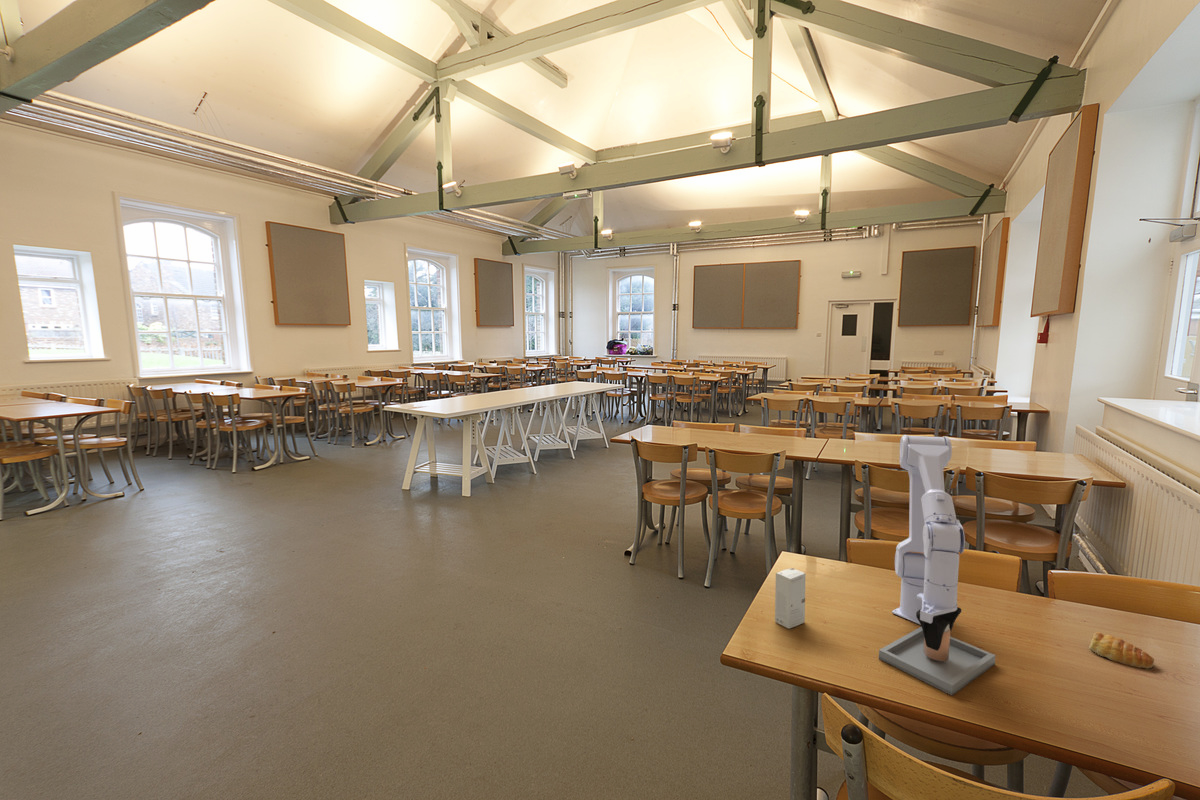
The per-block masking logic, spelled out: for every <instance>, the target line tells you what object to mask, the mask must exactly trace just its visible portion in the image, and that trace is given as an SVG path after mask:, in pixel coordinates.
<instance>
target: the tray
mask: <svg viewBox="0 0 1200 800" xmlns="http://www.w3.org/2000/svg"><path fill="white" fill-rule="evenodd" d="M878 660H880V661H882V662H884V663H886V664H888V665H890V666H892V667H894V668H895V669H898V670H900V671H902V672H904V673H906V674H908V675H909V676H912V677H914V678H916V679H918V680H920V681H921V682H924V683H926V684H927V685H930V686H932V687H934V688H936V689H937V690H940V691H942V692H944V693H945V694H947V693H948V695H949V694H950V696H951V695H952V696H953V695H955V694H956V693H958V692H959V691H961V690H962V689H963V688H964V687H966V686H967V685H968V684H970V683H971V682H973V681H974V680H975V679H977V678H978V677H980V676H981V675H982V674H984V673H985V672H986V671H988V670H989V669H991V668H992V667H994V665H996V654H994V653H993V652H992V653H991V652H989V651H986V650H984V649H982V648H979V647H977V646H974V645H972V644H970V643H968V642H965V641H963V640H960V639H958V638H955V637H953V636H951V635H950V646H949V659H948V660H947V661H938V660H934V659H931V658H929V657H928V656H926V655H925V654H924V633H923V629H922V627H921V626H920V627H918V628H916V629H915V630H914V629H913V631H911V632H909V633H907V634H906V635H903V636H901V637H900V638H898V639H896V640H894V641H893V642H891V643H889V644H887V645H885V646H883V647H882V648H880V649H879V650H878Z"/></svg>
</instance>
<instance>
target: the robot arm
mask: <svg viewBox="0 0 1200 800" xmlns="http://www.w3.org/2000/svg"><path fill="white" fill-rule="evenodd" d="M952 447H953V446H952V441H951V439H950V438H949V437H948V436H927V435H926V436H925V435H924V436H923V435H908V434H903V435H902V436H901V437H900V441H899V464H900V468H902V469H904V470H906V471H907V472H908V477H909V504H908V505H909V507H908V508H909V513H908V515H909V519H908V520H909V521H908V523H909V524H908V525H909V527H908V529H909V531H908V533H909V534H908V535H909V536H908V537H907V538H906V539H904V540H902V541H900V542H898V544H897V545H896V547H895V550H896V551H895V554H894V570H895V571H894V572H895V574H896V576H897V577H899V578H900V579H901V580H900V581H901V582H900V598H899V600H900V601H899V603H900V604H899V607H897V608H895V609H893V610H892V611H891V613H892V614H895V615H896V616H899V617H900V618H904V619H905V620H906V619H907V620H908V621H910V622H912V623H913V622H914V624H918V625H920V627H922V629H923V633H924V638H925V642H926V646H927V647H929V648H931V649H934V650H936V651H938V650H939V648H940V645H941V641H942V637H943V633H944V631H945V629H946V627H947V625H948V624H949V628H950V635H951V633H952V630H953V627H954V624H955V622H956V620H957V618H959V616H960V614H961V613H962V608H961V607H960V606H958V585H959V584H958V582H959V567H960V565H959V564H960V554H963V553H964V550H965V545H966V537H965V531H964V527H963V525H962V524H961V521H960V519H957V515H956V510H955V506H954V501H953V497H952V496H951V494H949V493H948V492H946V491H945V489H946V488H945V477H944V469H945V468H946V467H948V463H950V461H951V459H952V453H953V451H952V450H953V448H952Z"/></svg>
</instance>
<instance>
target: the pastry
mask: <svg viewBox="0 0 1200 800" xmlns="http://www.w3.org/2000/svg"><path fill="white" fill-rule="evenodd" d="M1088 648H1089V649H1090V650H1091V651H1092V652H1093V653H1094V652H1095V653H1094V654H1096V653H1097V654H1098V656H1099V655H1100V656H1099V657H1101V656H1102V657H1105V658H1107V659H1109V660H1110V661H1113V662H1116V663H1120V664H1124V665H1127V666H1132V667H1134V666H1135V668H1139V669H1140V668H1144V669H1151V668H1152V667H1153V666H1154V662H1155V659H1154V657H1152V656H1151V655H1150V654H1149V653H1148V652H1146V651H1144V650H1143V649H1141V648H1140V647H1137V646H1135V645H1133V644H1132V643H1130V642H1127V641H1124V639H1122V638H1120V637H1119V638H1118V637H1117V638H1116V637H1114V636H1113V635H1111V634H1103V633H1102V632H1099V631H1097V632H1095V633H1093V637H1092V639H1091V641H1090V645H1089V646H1088ZM1097 654H1096V655H1097Z"/></svg>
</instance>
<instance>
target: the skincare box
mask: <svg viewBox="0 0 1200 800" xmlns="http://www.w3.org/2000/svg"><path fill="white" fill-rule="evenodd" d="M774 595H775V597H774V598H775V600H774V601H775V602H774V604H775V605H774V622H775V623H776V624H778V625H781V626H782V627H784V628H786V629H792V628H794V627H797V626H800V625H801V624H804V623H805V622H806V621H805V620H806V619H805V618H806V612H805V611H806V573H805V572H803V571H801V570H798V569H795V568H794V567H793V568H792V567H791V568H790V567H789V568H787V569H782V570H781V571H779V572H775V594H774Z"/></svg>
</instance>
